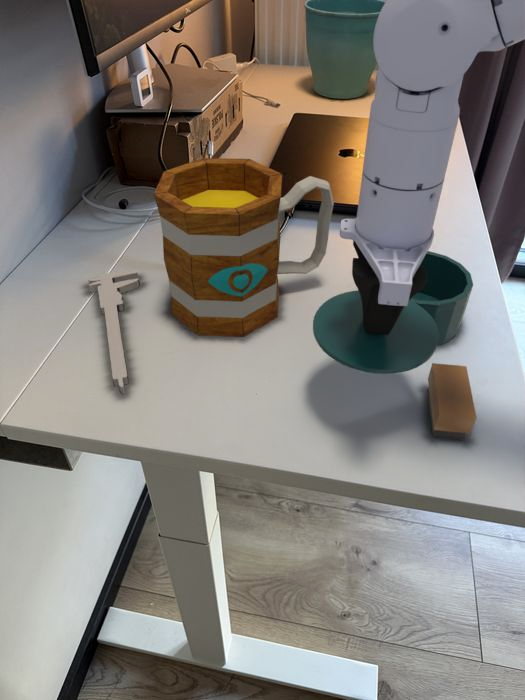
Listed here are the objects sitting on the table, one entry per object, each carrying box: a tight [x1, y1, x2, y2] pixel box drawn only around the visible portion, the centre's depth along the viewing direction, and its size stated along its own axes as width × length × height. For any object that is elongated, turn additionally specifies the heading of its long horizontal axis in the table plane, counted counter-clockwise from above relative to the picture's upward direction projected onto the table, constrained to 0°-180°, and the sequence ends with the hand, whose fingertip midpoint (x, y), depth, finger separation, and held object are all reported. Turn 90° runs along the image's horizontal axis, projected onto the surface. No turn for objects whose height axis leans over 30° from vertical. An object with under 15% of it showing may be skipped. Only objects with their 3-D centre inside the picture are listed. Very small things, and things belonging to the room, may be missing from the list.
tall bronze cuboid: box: [427, 362, 477, 441], centre depth 51 cm, size 3×6×4 cm, turn 172°
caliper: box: [87, 270, 141, 395], centre depth 61 cm, size 20×1×6 cm
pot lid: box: [312, 289, 439, 375], centre depth 47 cm, size 11×11×5 cm
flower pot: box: [304, 0, 387, 100], centre depth 117 cm, size 18×18×17 cm
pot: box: [410, 250, 474, 346], centre depth 61 cm, size 10×10×6 cm
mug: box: [153, 157, 335, 338], centre depth 61 cm, size 20×14×15 cm
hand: (376, 321), depth 47 cm, fingers closed on pot lid, 2 cm apart
